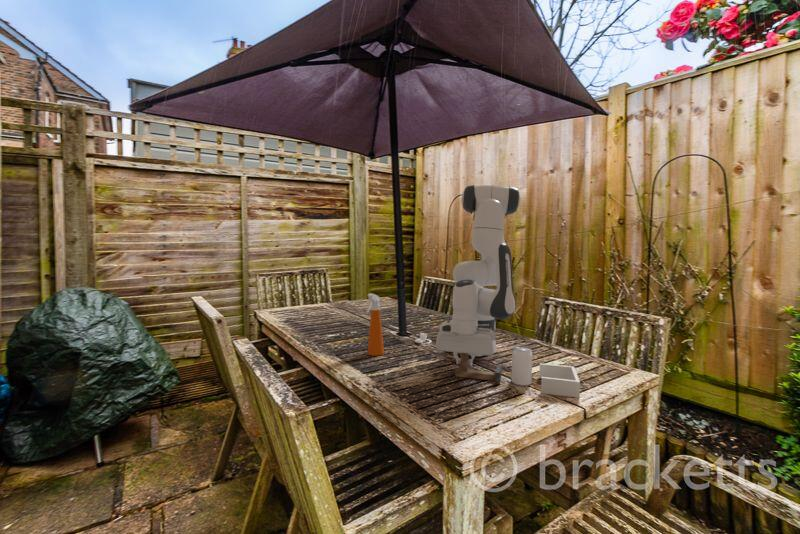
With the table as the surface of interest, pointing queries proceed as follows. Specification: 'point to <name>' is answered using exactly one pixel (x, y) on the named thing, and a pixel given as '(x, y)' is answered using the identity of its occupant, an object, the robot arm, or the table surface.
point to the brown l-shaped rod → (476, 374)
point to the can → (522, 365)
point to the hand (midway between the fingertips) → (464, 364)
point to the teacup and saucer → (422, 339)
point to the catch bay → (559, 380)
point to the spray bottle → (375, 327)
